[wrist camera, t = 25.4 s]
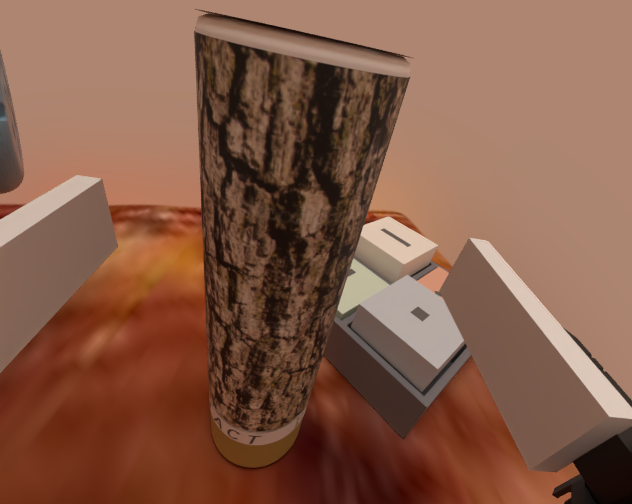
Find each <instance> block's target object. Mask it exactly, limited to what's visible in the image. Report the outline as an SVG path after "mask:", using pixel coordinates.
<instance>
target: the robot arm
mask: <svg viewBox="0 0 632 504" xmlns="http://www.w3.org/2000/svg"><path fill="white" fill-rule="evenodd" d="M23 177H24V168H23V159H22V151H21V146H20V139H19V134H18V128H17V123H16V118H15V113H14V108H13V103H12V98H11V94H10V90H9V85H8V80H7V76H6V72H5V67H4V63H3V59H2V55H1V51H0V194H2V193H7V192H10V191H13V190H14V189H16V188H17V187H18V186H19V185H20V184H21V183H22V180H23ZM117 247H118V244H117V240H116V236H115V232H114V227H113V223H112V219H111V215H110V211H109V206H108V202H107V198H106V194H105V189H104V185H103V181H102V179H100V178H93V177H87V176H80V175H76V176H74V177H73V178H71V179H69V180H68V181H66V182H64V183H63V184H61V185H59V186H57V187H56V188H54V189H52V190H50V191H49V192H47V193H45V194H44V195H42V196H40V197H38V198H37V199H35V200H34V201H32V202H30V203H28V204H26V205H25V206H23V207H21V208H20V209H18V210H16V211H14V212H13V213H11V214H9V215H8V216H6V217H4V218H2V219H1V220H0V373H1V372H2V371H3V370H4V369H5V367H6V366H7V365H8V364H9V363H10V362H11V361H12V360H13V359H14V358H15V357H16V356H17V355H18V353H19V352H20V351H21V350H22V349H23V348H24V347H25V346H26V345H27V344H28V343H29V342H30V341H31V340H32V338H33V337H34V336H35V335H36V334H37V333H38V332H39V331H40V330H41V329H42V328H43V327H44V326H45V324H46V323H47V322H48V321H49V320H50V319H51V318H52V317H53V316H54V315H55V314H56V313H57V312H58V311H59V309H60V308H61V307H62V306H63V305H64V304H65V303H66V302H67V301H68V300H69V299H70V298H71V297H72V295H73V294H74V293H75V292H76V291H77V290H78V289H79V288H80V287H81V286H82V285H83V284H84V283H85V282H86V280H87V279H88V278H89V277H90V276H91V275H92V274H93V273H94V272H95V271H96V270H97V269H98V268H99V266H100V265H101V264H102V263H103V262H104V261H105V260H106V259H107V258H108V257H109V256H110V255H111V254H112V253H113V251H114V250H115V249H116V248H117ZM439 291H440V293H441V295H442V297H443V299H444V301H445V303H446V305H447V307H448V309H449V311H450V313H451V315H452V317H453V319H454V321H455V323H456V325H457V327H458V329H459V331H460V333H461V335H462V337H463V339H464V341H465V343H466V345H467V347H468V349H469V351H470V353H471V355H472V357H473V359H474V361H475V363H476V365H477V367H478V369H479V371H480V373H481V375H482V377H483V379H484V381H485V383H486V385H487V387H488V389H489V391H490V393H491V395H492V397H493V399H494V401H495V403H496V405H497V407H498V409H499V411H500V413H501V415H502V417H503V419H504V421H505V423H506V425H507V427H508V429H509V431H510V433H511V435H512V437H513V439H514V441H515V443H516V445H517V447H518V449H519V451H520V453H521V455H522V457H523V459H524V461H525V463H526V465H527V467H528V469H529V470H531V471H546V472H557V471H559V470H561V469H562V468H564V467H566V466H567V465H569V464H570V463H572V462H573V463H574V464H575V466H576V468H577V469H578V471H579V473H580V474H579V475H577V476H575V477H574V478H572V479H570V480H568V481H567V482H565V483H563V484H561V485H559V486H558V487H556V488H555V489H554V492H553V494H552V495H553V496H555V497H556V498H559V497H560V496H562V495H564V494H566V493H568V492H571V498H570V499H568V500H567V501H565V502H564V504H632V400H631V399H630V398H629V397H628V396H627V395H626V394H625V392H624V391H623V390H622V389H621V388H620V387H619V385H617V383H616V382H615V381H614V380H613V379H612V377H611V376H610V375H609V374H608V373H607V372H604V371H603V367H602V366H601V365H600V364H599V363H598V361H597V360H596V359H594V358H592V357H591V354H590V352H589V351H588V350H587V349H586V348H585V347H584V346H583V344H581V342H580V341H579V340H578V339H577V338H576V337H574V336H573V335H572V334H571V333H570V332H568V331H567V330H566V329H564V328H563V327H562V326H561V325H560V324H559V323H558V322H557V321H556V319H555V318H554V317H553V316H552V315H551V314H550V312H549V311H548V310H547V309H546V308H545V307H544V305H543V304H542V303H541V302H540V301H539V300H538V298H537V297H536V296H535V295H534V294H533V293H532V292H531V290H530V289H529V288H528V287H527V286H526V285H525V283H524V282H523V281H522V280H521V279H520V278H519V277H518V275H517V274H516V273H515V272H514V271H513V270H512V268H511V267H510V266H509V265H508V264H507V263H506V261H505V260H504V259H503V258H502V257H501V256H500V254H499V253H498V252H497V251H496V250H495V249H494V248H493V246H492V245H491V244H490V243H489V242H488V241H486V240H479V239H473V238H469V239H468V241H467V243H466V244H465V246H464V248H463V250H462V251H461V253H460V255H459V257H458V258H457V260H456V262H455V264H454V265H453V267H452V269H451V271H450V272H449V274H448V276H447V278H446V279H445V281H444V283H443V285H442V286H441V288H440V290H439Z"/></svg>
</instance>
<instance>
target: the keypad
mask: <svg viewBox="0 0 632 504" xmlns="http://www.w3.org/2000/svg"><path fill="white" fill-rule="evenodd" d="M354 259H355V260H356V261H358V262H359V263H360V264H362V265H363V266H365V267H366V268H367V269H369V270H370V271H371V272H373V273H374V274H375V275H377V276H378V277H379V278H381V279H382V280H384V281H385V282H386V283H388V284H389V285H391V284H392V283H390V282H389V281H387V280H386V279H385V278H383V277H382V276H381V275H379V274H378V273H376V272H375V271H374V270H372V269H371V268H370V267H368V266H367V265H366V264H364V263H363V262H361V261H360V260H359V259H357V258H356V257H355V256H354ZM437 267H440V268H442V267H441V266H439V265H437V264H436V263H434V262H433V261H430V263H429V265H428V266H426V267H424V268H423V269H421V270H419V271H418V272H416V273H415V274H413V275H411V276H410V277H412V278H413V279H415V280H416V281H417V280H419V279H421V278H422V277H424V276H425V275H427V274H428V273H430V272H431V271H433V270H434V269H436V268H437ZM442 269H444V268H442ZM444 270H445V269H444ZM445 271H447V270H445ZM447 272H448V273H449V271H447ZM355 314H356V312H355V313H353V314H352V315H350V316H349V317H347V318H345V319H344V320H342V321H341V320H340V319H339V318H338V317H337V316H336V315H335V318H334V321H333V325H332V328H331V331H330V334H329V337H328V340H327V344H326V347H325V350H324V353H323V355H324V356H325V357H326V358H327V360H328V361H329V362H330V363H331V364H332V365H333V366H334V367H335V368H336V369H337V370H338V371H339V372H340V373H341V374H342V375H343V376H344V377H345V378H346V380H347V381H348V382H349V383H350V384H351V385H352V386H353V387H354V388H355V389H356V390H357V391H358V392H359V393H360V394H361V395H362V396H363V397H364V398H365V399H366V401H367V402H368V403H369V404H370V405H371V406H372V407H373V408H374V409H375V410H376V411H377V412H378V413H379V414H380V415H381V416H382V417H383V418H384V419H385V420H386V422H387V423H388V424H389V425H390V426H391V427H392V428H393V429H394V430H395V431H396V432H397V433H398V434H399V435H400V436H401V437H402V438H403V439H404V438H405V436H406V435H407V434H408V433H409V432H410V430H411V429H412V428H413V427H414V425H415V424H416V423H417V422H418V421H419V419H420V418H421V417H422V416H423V414H424V413H425V412H426V411H427V410H428V408H429V407H430V406H431V405H432V404H433V402H434V401H435V400H436V399H437V397H438V396H439V395H440V394H441V393H442V391H443V390H444V389H445V388H446V386H447V385H448V384H449V383H450V382H451V380H452V379H453V378H454V377H455V375H456V374H457V373H458V372H459V371H460V369H461V368H462V367H463V366H464V364H465V363H466V362H467V361H468V360H469V358H470V357H471V356H472V355H471V353H470V351H469V349H468V347H467V345H466V343H465V344H464V346H463V347H462V348H461V349H460V350H459V351H458V352H457V354H456V355H455V356H454V357H453V358H452V359H451V360H450V361H449V363H448V364H447V365H446V366H445V367H444V368H443V369H442V370H441V371H440V373H439V374H438V375H437V376H436V377H435V378H434V379H433V380H432V382H431V383H430V384H429V385H428V386H427V387H426V388H425V389H424V391H423V392H421V391H420V390H419V389H417V388H416V387H415V386H414V385H413V384H412V383H411V382H410V381H409V380H408V379H406V378H405V377H404V376H403V375H402V374H401V373H400V372H399V371H398V370H397V369H395V368H394V367H393V366H392V365H391V364H390V363H389V362H388V361H387V360H386V359H385V358H383V357H382V356H381V355H380V354H379V353H378V352H377V351H376V350H375V349H374V348H372V347H371V346H370V345H369V344H368V343H367V342H366V341H365V340H364V339H363V338H361V337H360V336H359V335H358V334H357V333H356V332H355V331H354V330H353V329H352V328H351V325H352V322H353V319H354V317H355Z"/></svg>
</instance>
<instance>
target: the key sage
mask: <svg viewBox="0 0 632 504" xmlns="http://www.w3.org/2000/svg"><path fill="white" fill-rule="evenodd" d="M388 286H389V284H388V283H386V282H385V281H384V280H382V279H381V278H379V277H378V276H377V275H375V274H374V273H373V272H371V271H370V270H369V269H367V268H366V267H365V266H363V265H362V264H360V263H359V262H358V261H356V260H355V259H354V258H353V261H352V264H351V267H350V270H349V273H348V277H347V280H346V283H345V286H344V289H343V293H342V296H341V299H340V302H339V305H338V309H337V312H336V316H337V317H338V318H339V319H340V320H341V321H342V320H344V319H345V318H347V317H349V316H350V315H352V314H353V313H355V312H356V311H357V308H358V306H359V304H360V303H361V302H363V301H365V300H366V299H368V298H370V297H371V296H373V295H375V294H376V293H378V292H380V291H381V290H383V289H384V288H386V287H388Z"/></svg>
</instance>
